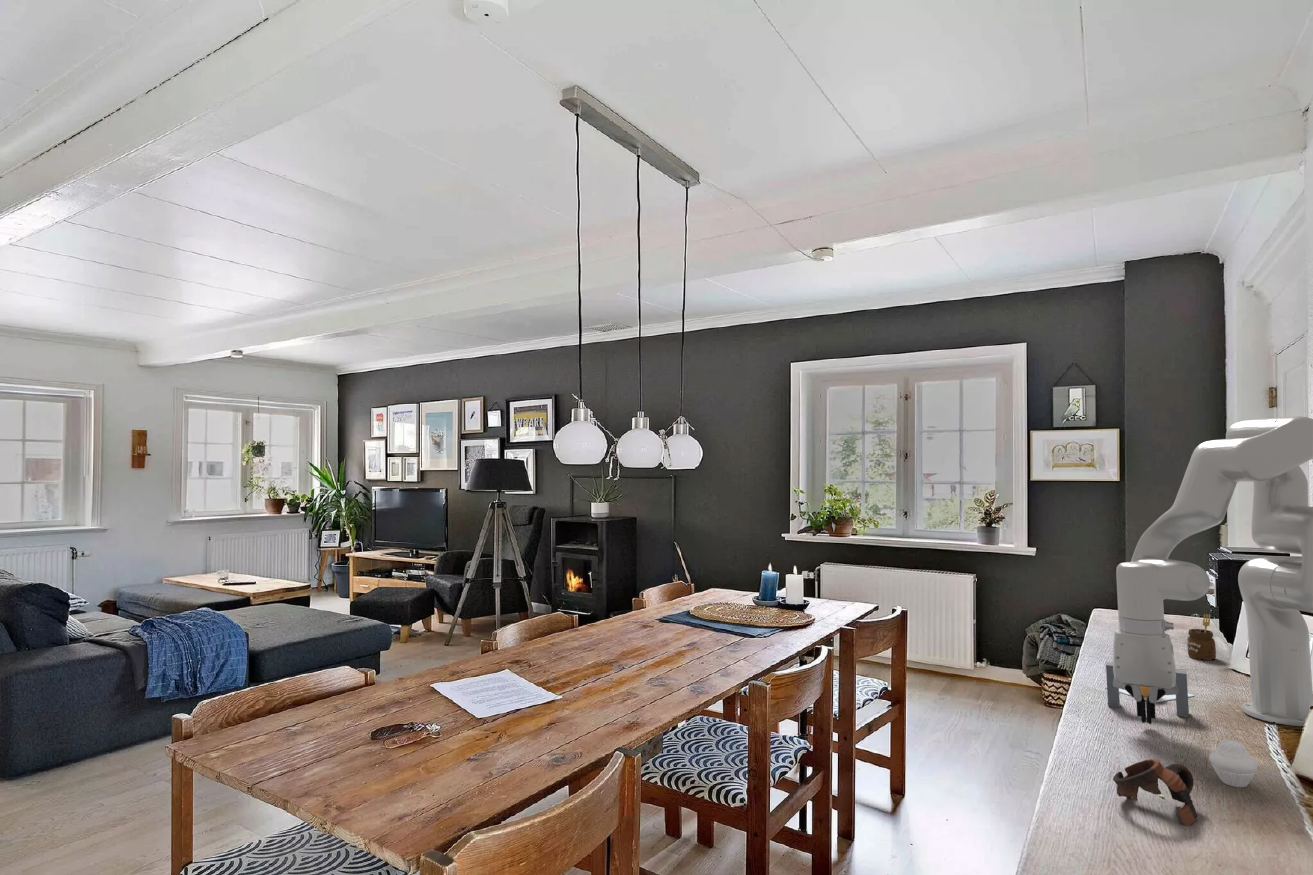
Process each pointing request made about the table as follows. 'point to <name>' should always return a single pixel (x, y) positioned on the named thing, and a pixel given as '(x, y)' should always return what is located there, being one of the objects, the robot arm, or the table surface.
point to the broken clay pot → (1147, 779)
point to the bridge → (1180, 697)
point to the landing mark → (1164, 698)
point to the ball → (1145, 690)
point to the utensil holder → (1201, 642)
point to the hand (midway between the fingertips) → (1146, 721)
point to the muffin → (1233, 763)
